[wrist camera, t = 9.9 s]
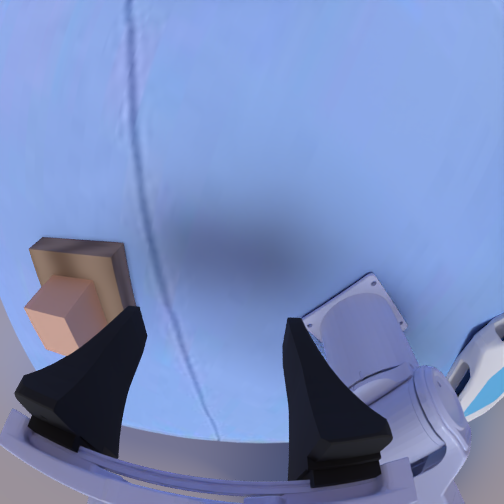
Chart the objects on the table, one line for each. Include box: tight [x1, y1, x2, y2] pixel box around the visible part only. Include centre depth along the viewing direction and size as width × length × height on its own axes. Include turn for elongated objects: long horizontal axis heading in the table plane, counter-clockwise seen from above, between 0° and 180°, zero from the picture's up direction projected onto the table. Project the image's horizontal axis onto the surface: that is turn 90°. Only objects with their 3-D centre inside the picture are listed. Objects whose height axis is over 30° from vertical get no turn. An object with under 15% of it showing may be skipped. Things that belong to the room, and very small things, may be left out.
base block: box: [29, 237, 136, 326], centre depth 23 cm, size 10×10×3 cm
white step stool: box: [446, 313, 504, 422], centre depth 29 cm, size 21×28×6 cm
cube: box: [24, 275, 107, 356], centre depth 19 cm, size 5×5×5 cm
